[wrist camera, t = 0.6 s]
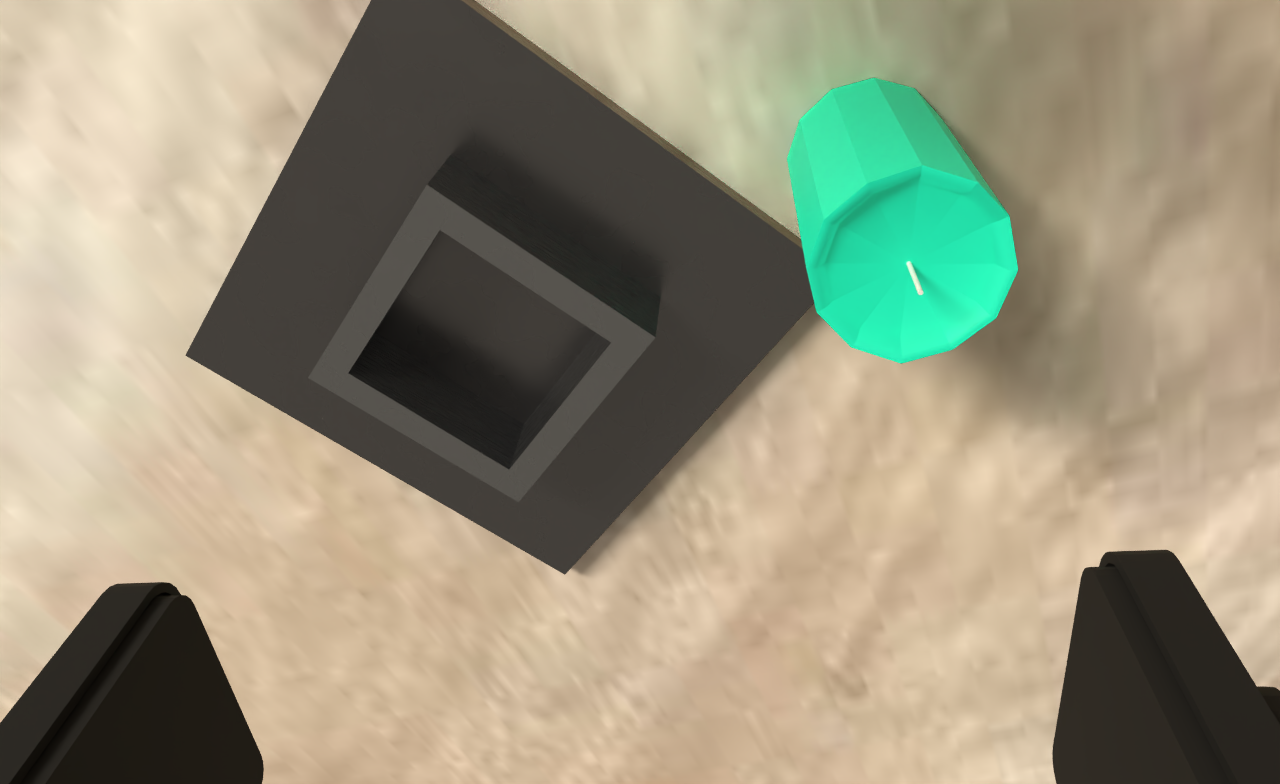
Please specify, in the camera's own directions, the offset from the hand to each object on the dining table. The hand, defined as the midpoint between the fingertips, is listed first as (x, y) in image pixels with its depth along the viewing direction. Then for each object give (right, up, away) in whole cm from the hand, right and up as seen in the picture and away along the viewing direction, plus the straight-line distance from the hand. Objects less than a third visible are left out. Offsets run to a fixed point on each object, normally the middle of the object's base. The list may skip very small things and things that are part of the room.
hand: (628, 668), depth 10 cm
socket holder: (-6, +7, +31) cm, 32 cm away
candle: (+9, +12, +27) cm, 31 cm away
